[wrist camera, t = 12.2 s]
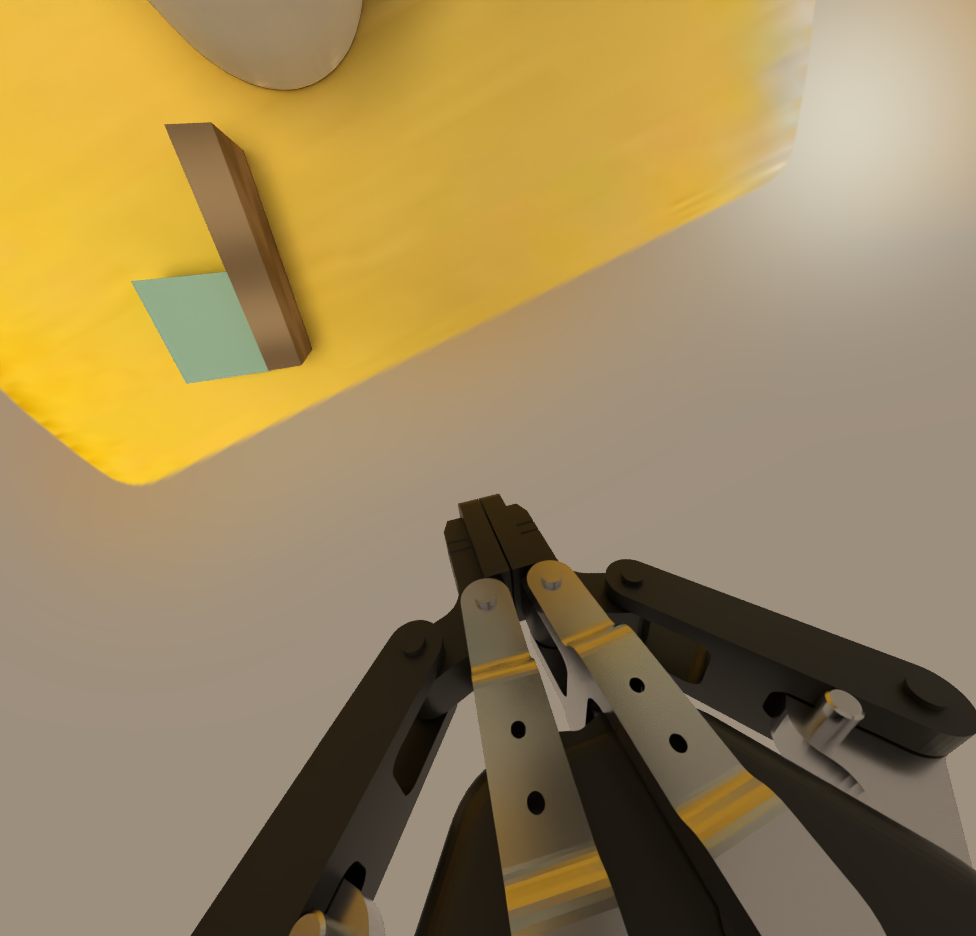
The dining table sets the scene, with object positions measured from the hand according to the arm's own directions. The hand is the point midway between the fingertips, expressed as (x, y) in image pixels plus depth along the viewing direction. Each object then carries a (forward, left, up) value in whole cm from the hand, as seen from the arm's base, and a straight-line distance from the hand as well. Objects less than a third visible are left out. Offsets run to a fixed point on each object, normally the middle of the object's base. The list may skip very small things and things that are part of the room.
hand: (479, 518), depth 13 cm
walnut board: (-9, -10, -27) cm, 30 cm away
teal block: (-5, -14, -27) cm, 31 cm away
